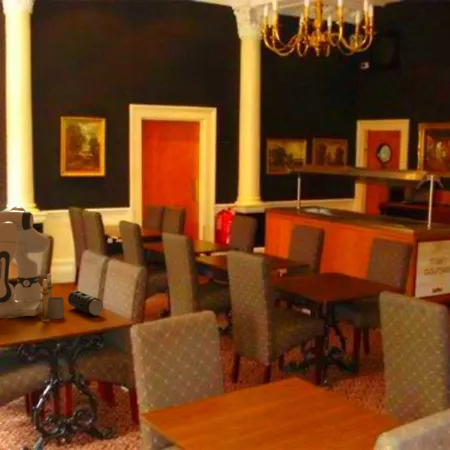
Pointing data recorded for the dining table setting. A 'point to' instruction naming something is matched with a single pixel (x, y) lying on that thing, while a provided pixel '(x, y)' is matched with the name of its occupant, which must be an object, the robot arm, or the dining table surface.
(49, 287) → the candlestick inner
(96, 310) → the muzzle brake
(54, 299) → the cup
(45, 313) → the candlestick outer
